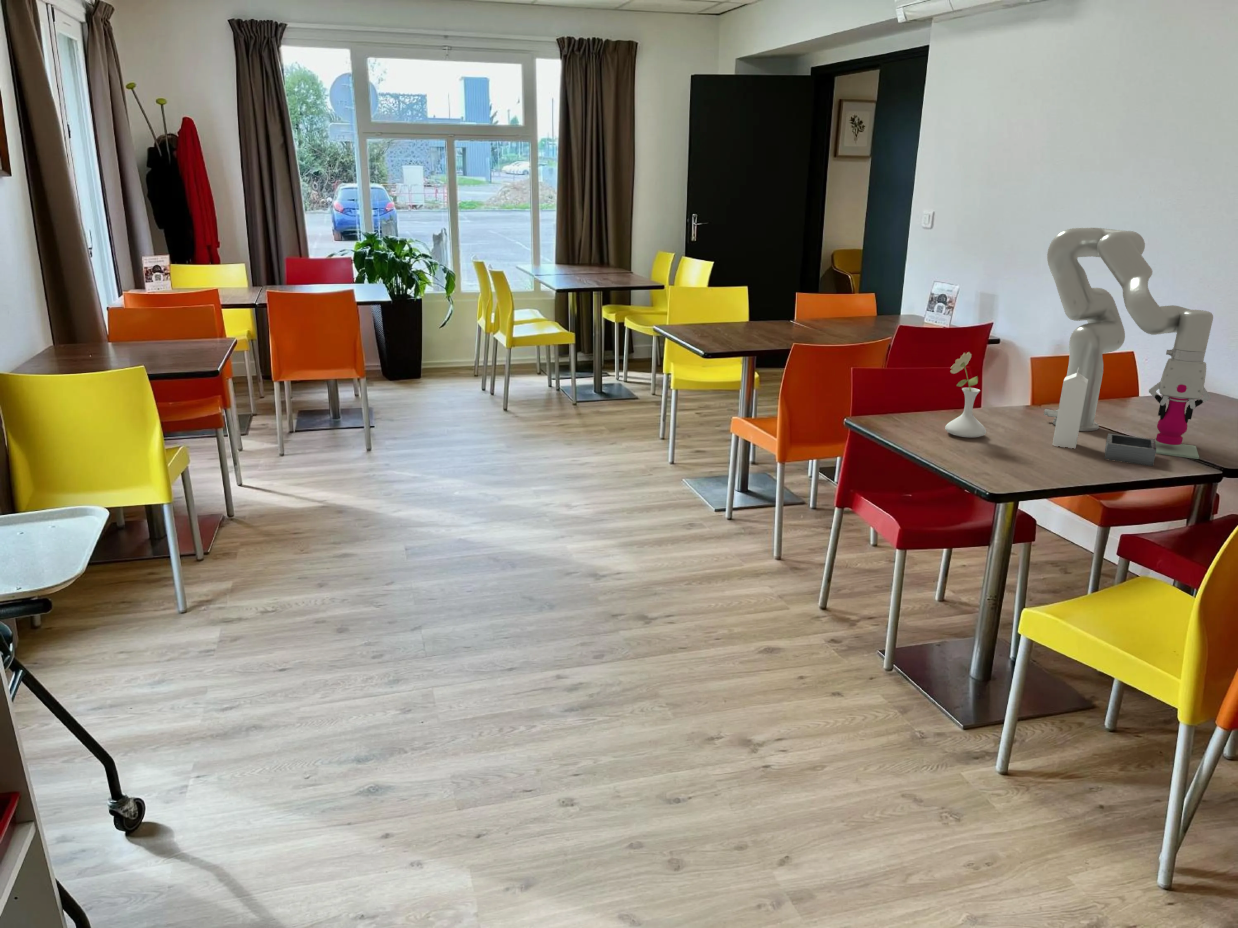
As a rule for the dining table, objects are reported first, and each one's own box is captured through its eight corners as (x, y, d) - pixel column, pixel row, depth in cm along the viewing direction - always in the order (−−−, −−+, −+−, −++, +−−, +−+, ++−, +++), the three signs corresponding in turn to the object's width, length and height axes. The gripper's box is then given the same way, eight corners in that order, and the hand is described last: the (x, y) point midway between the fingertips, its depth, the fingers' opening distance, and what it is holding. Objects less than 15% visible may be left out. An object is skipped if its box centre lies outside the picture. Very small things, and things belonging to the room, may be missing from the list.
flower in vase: (968, 428, 267) (979, 346, 259) (993, 439, 257) (1007, 354, 249) (931, 431, 263) (942, 348, 256) (956, 442, 253) (968, 356, 245)
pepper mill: (1187, 446, 245) (1204, 375, 238) (1159, 444, 246) (1174, 374, 240) (1177, 439, 251) (1193, 370, 245) (1150, 437, 253) (1165, 368, 246)
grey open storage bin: (1104, 459, 240) (1107, 443, 238) (1105, 448, 249) (1108, 433, 248) (1152, 466, 235) (1156, 450, 233) (1151, 454, 244) (1154, 439, 243)
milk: (1076, 444, 254) (1091, 368, 247) (1075, 449, 249) (1090, 372, 242) (1053, 440, 256) (1067, 366, 249) (1051, 445, 251) (1065, 369, 244)
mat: (1140, 451, 247) (1140, 449, 247) (1139, 440, 257) (1139, 438, 257) (1198, 459, 241) (1199, 457, 241) (1195, 447, 251) (1195, 445, 251)
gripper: (1152, 354, 242) (1139, 418, 247) (1226, 361, 234) (1210, 427, 240) (1151, 350, 248) (1138, 412, 254) (1223, 357, 240) (1208, 421, 246)
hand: (1173, 419), depth 247 cm, fingers closed on pepper mill, 5 cm apart
